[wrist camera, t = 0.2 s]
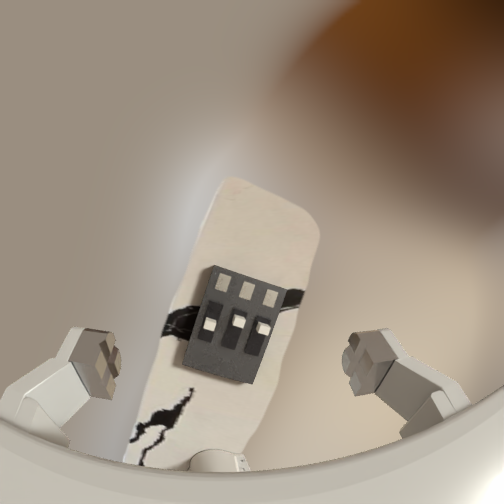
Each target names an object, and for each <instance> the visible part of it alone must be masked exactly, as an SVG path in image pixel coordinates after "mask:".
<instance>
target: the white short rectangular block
mask: <svg viewBox="0 0 504 504" xmlns="http://www.w3.org/2000/svg"><path fill="white" fill-rule="evenodd" d="M270 329H271V327H270V326H269V325H268V324H265V323H261V322H258V324H257V327H256V330H257V332H258V333H260V334H264V335H267V336H268V334H269V331H270Z"/></svg>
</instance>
